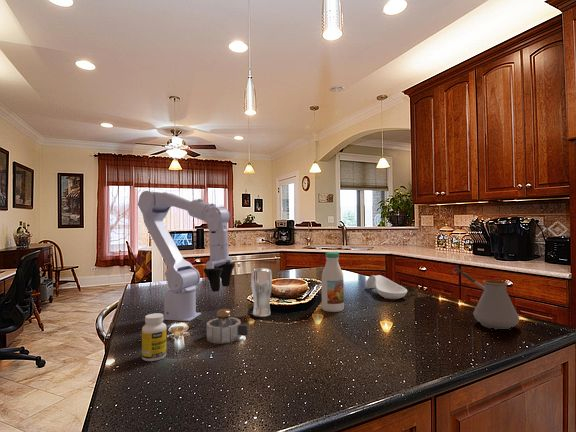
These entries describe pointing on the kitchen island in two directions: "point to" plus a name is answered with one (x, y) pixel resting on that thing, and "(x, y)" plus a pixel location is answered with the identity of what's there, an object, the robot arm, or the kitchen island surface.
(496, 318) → the coffee pot
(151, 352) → the supplement bottle
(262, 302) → the beer glass
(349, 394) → the kitchen island surface
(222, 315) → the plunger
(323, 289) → the milk bottle
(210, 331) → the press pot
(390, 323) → the kitchen island surface
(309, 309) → the kitchen island surface
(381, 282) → the spoon rest
